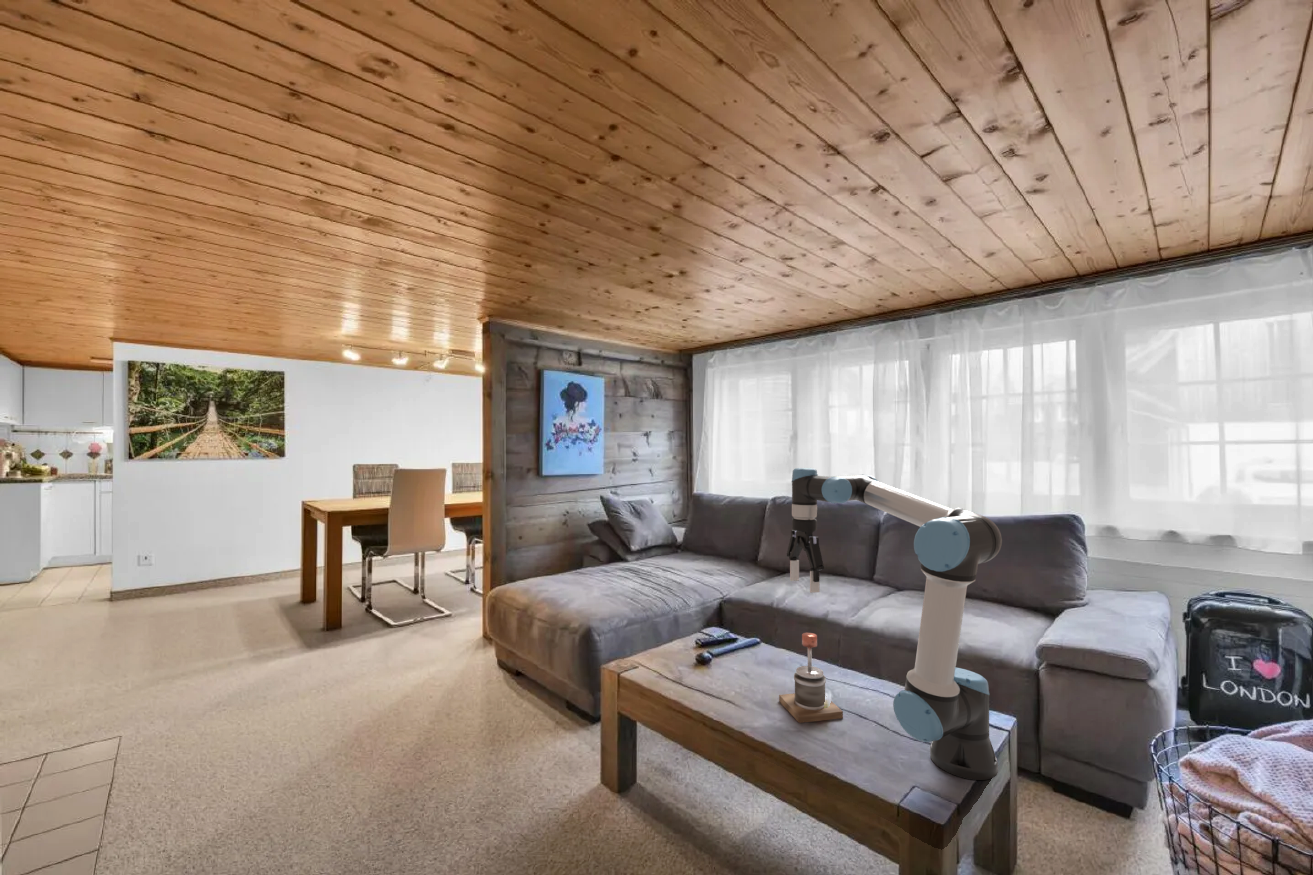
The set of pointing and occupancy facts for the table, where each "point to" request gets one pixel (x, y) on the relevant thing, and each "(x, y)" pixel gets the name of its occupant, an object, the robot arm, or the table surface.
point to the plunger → (809, 658)
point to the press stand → (809, 701)
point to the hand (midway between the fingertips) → (804, 586)
